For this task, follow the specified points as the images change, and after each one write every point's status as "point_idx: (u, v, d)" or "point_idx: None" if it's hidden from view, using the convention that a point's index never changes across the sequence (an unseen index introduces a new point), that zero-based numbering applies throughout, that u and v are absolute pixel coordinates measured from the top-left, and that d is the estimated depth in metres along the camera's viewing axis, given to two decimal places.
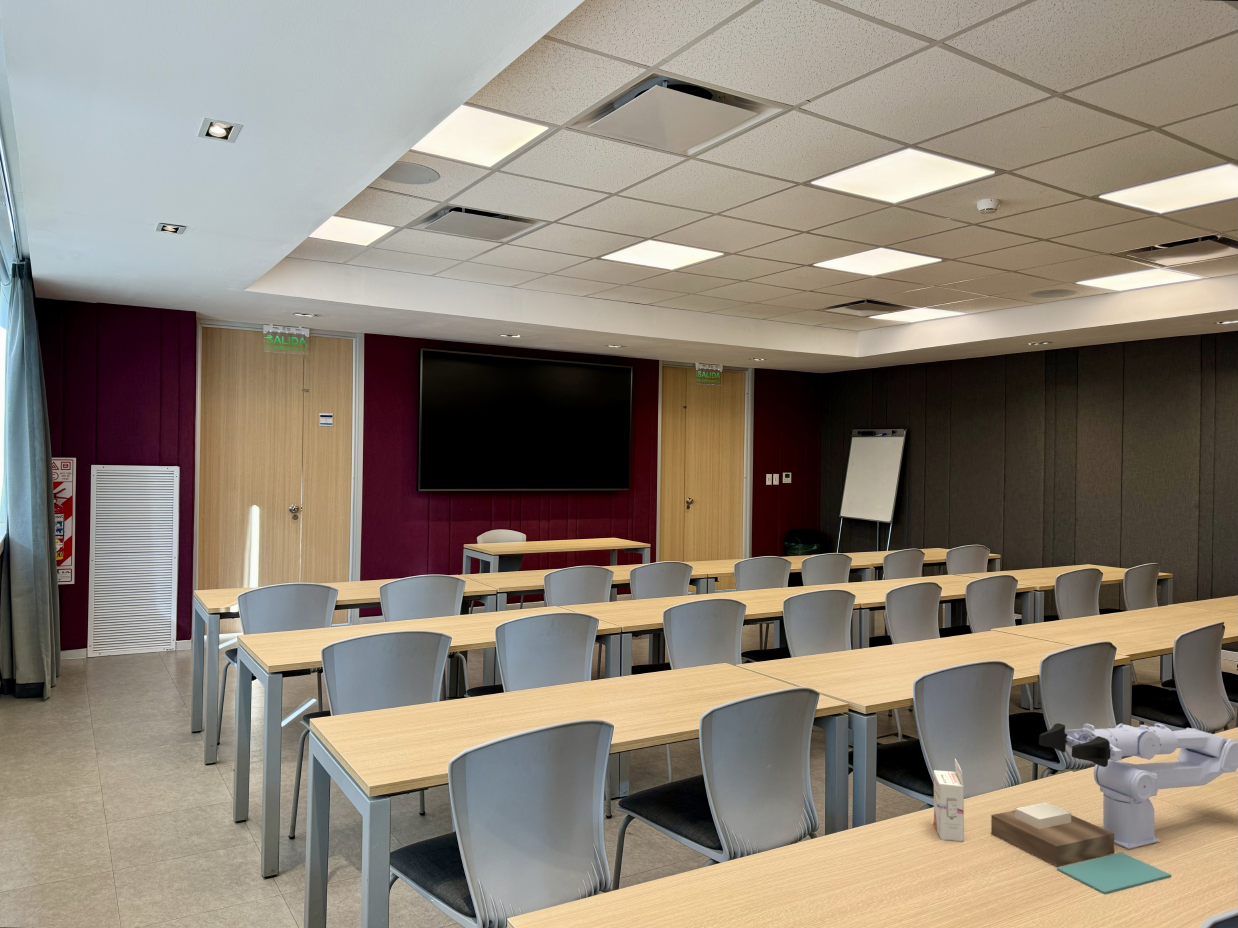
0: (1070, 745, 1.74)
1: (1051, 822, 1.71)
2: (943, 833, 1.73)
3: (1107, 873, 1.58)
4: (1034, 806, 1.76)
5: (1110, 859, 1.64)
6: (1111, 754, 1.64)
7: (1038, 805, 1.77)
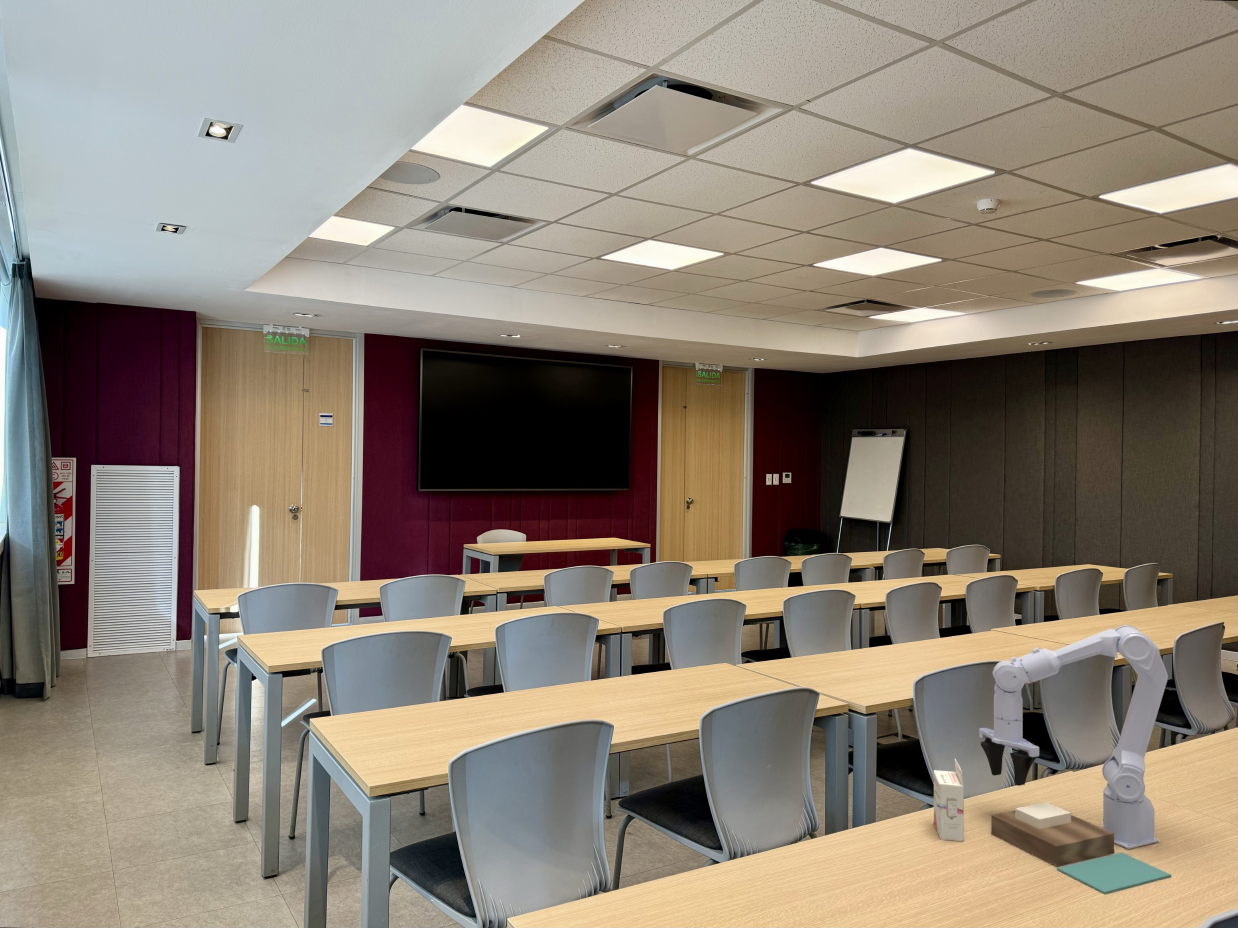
0: None
1: (1051, 822, 1.71)
2: (943, 833, 1.73)
3: (1107, 873, 1.58)
4: (1034, 806, 1.76)
5: (1110, 859, 1.64)
6: None
7: (1038, 805, 1.77)
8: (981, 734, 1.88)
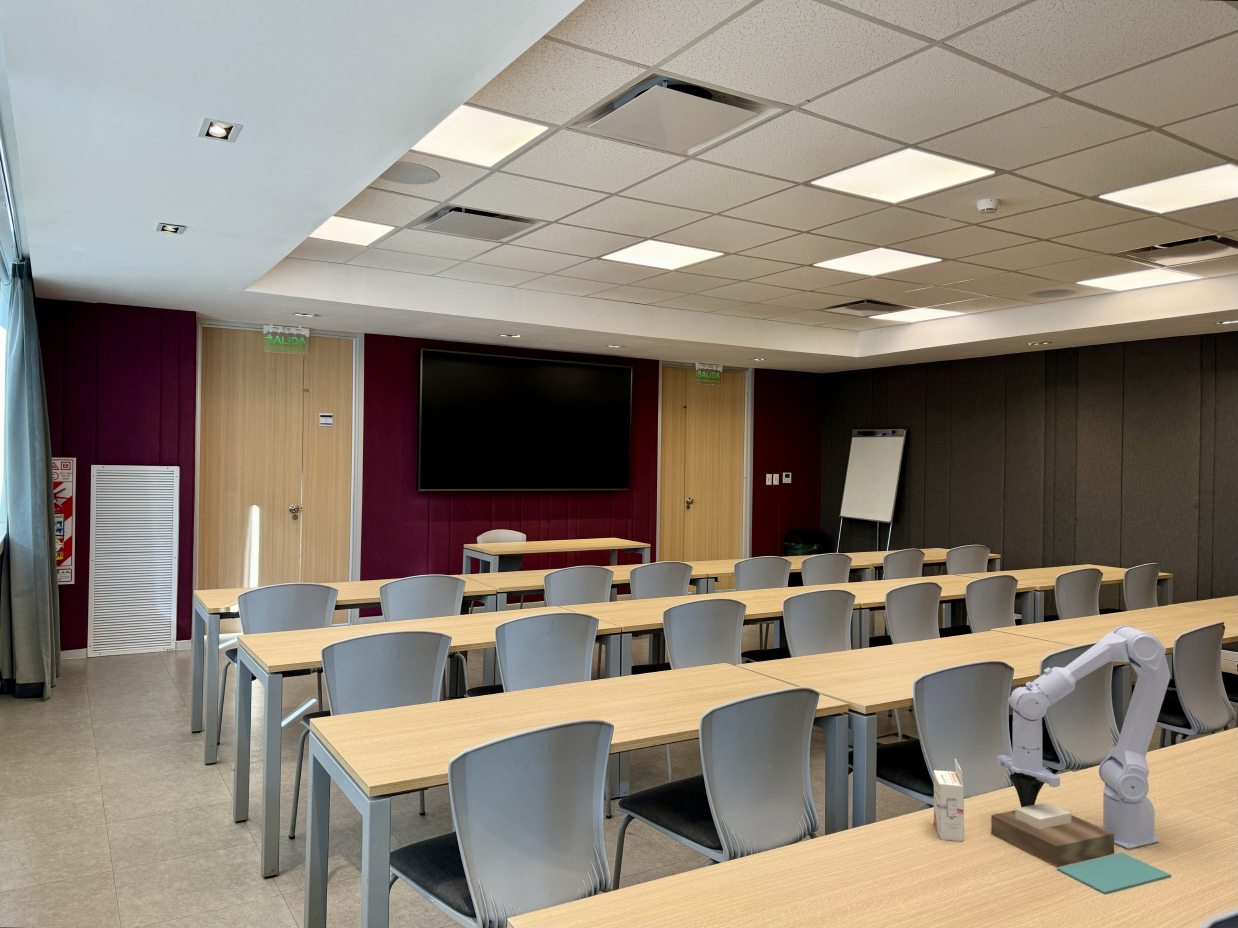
0: None
1: (1051, 822, 1.71)
2: (943, 833, 1.73)
3: (1107, 873, 1.58)
4: (1034, 806, 1.76)
5: (1110, 859, 1.64)
6: None
7: (1038, 805, 1.77)
8: (999, 762, 1.83)
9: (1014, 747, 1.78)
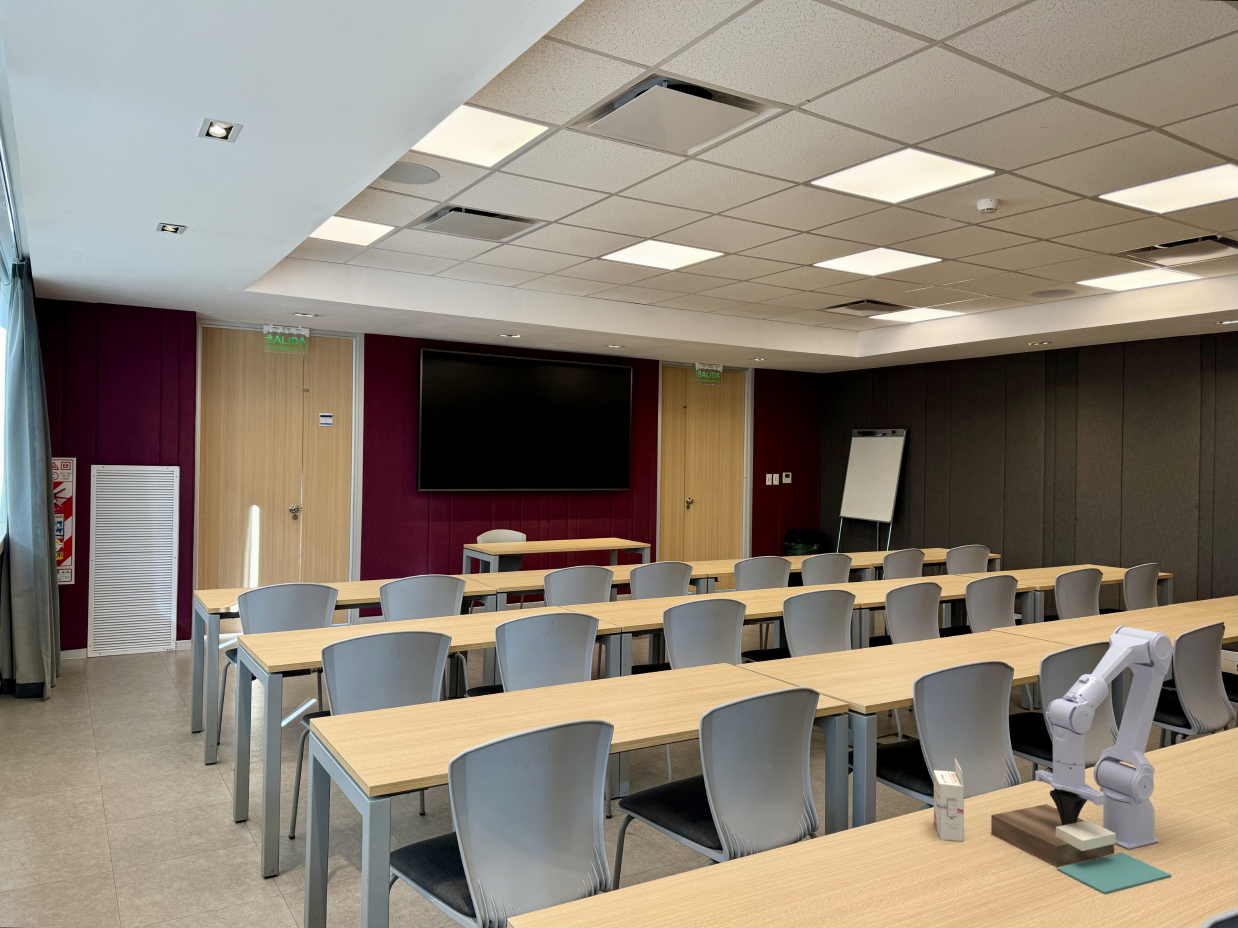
0: None
1: (1095, 843, 1.61)
2: (943, 833, 1.73)
3: (1107, 873, 1.58)
4: (1076, 825, 1.66)
5: (1110, 859, 1.64)
6: None
7: (1080, 823, 1.67)
8: (1038, 777, 1.74)
9: (1055, 762, 1.68)
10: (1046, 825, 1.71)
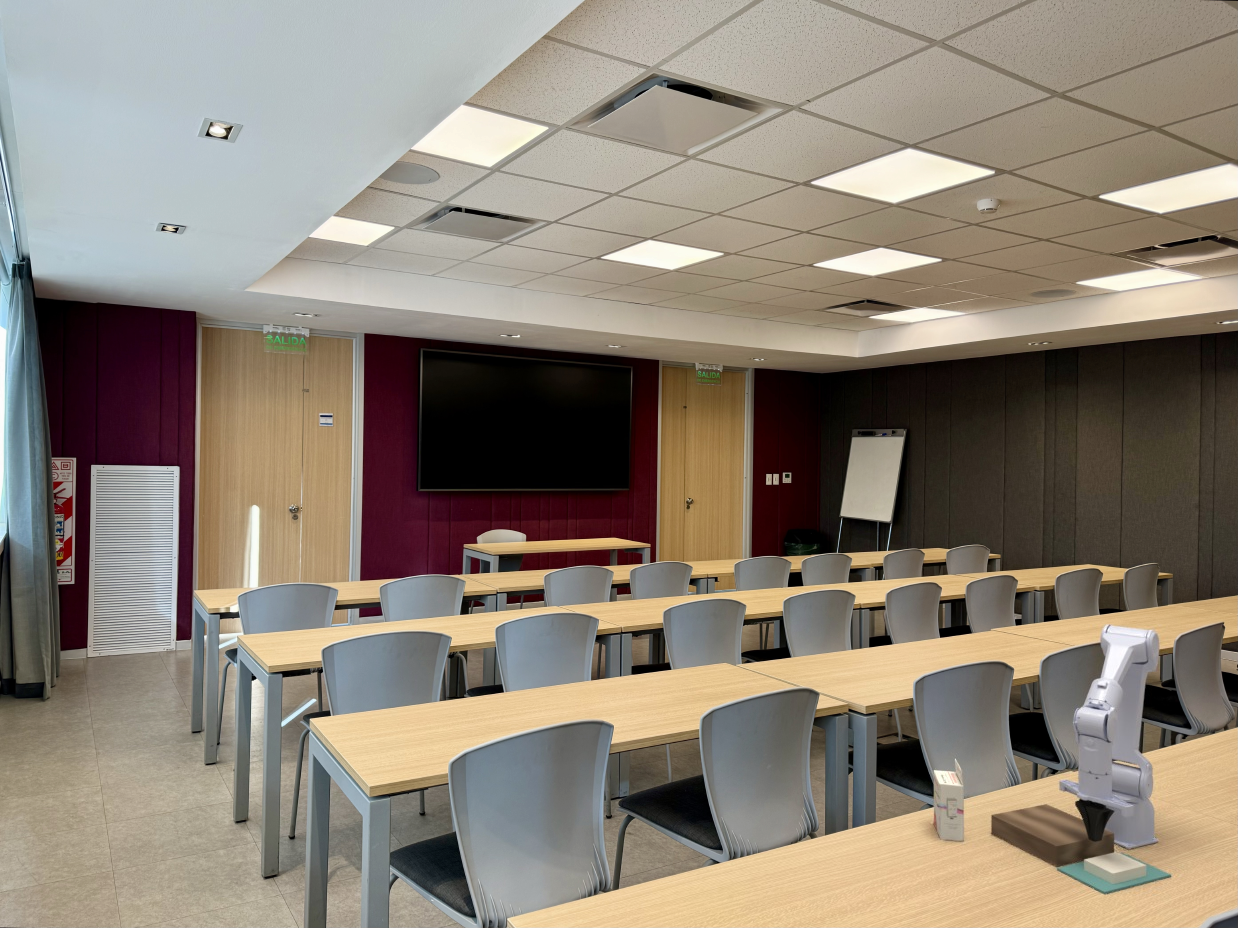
0: None
1: None
2: (943, 833, 1.73)
3: None
4: None
5: None
6: None
7: None
8: (1062, 787, 1.69)
9: (1080, 772, 1.63)
10: (1046, 825, 1.71)
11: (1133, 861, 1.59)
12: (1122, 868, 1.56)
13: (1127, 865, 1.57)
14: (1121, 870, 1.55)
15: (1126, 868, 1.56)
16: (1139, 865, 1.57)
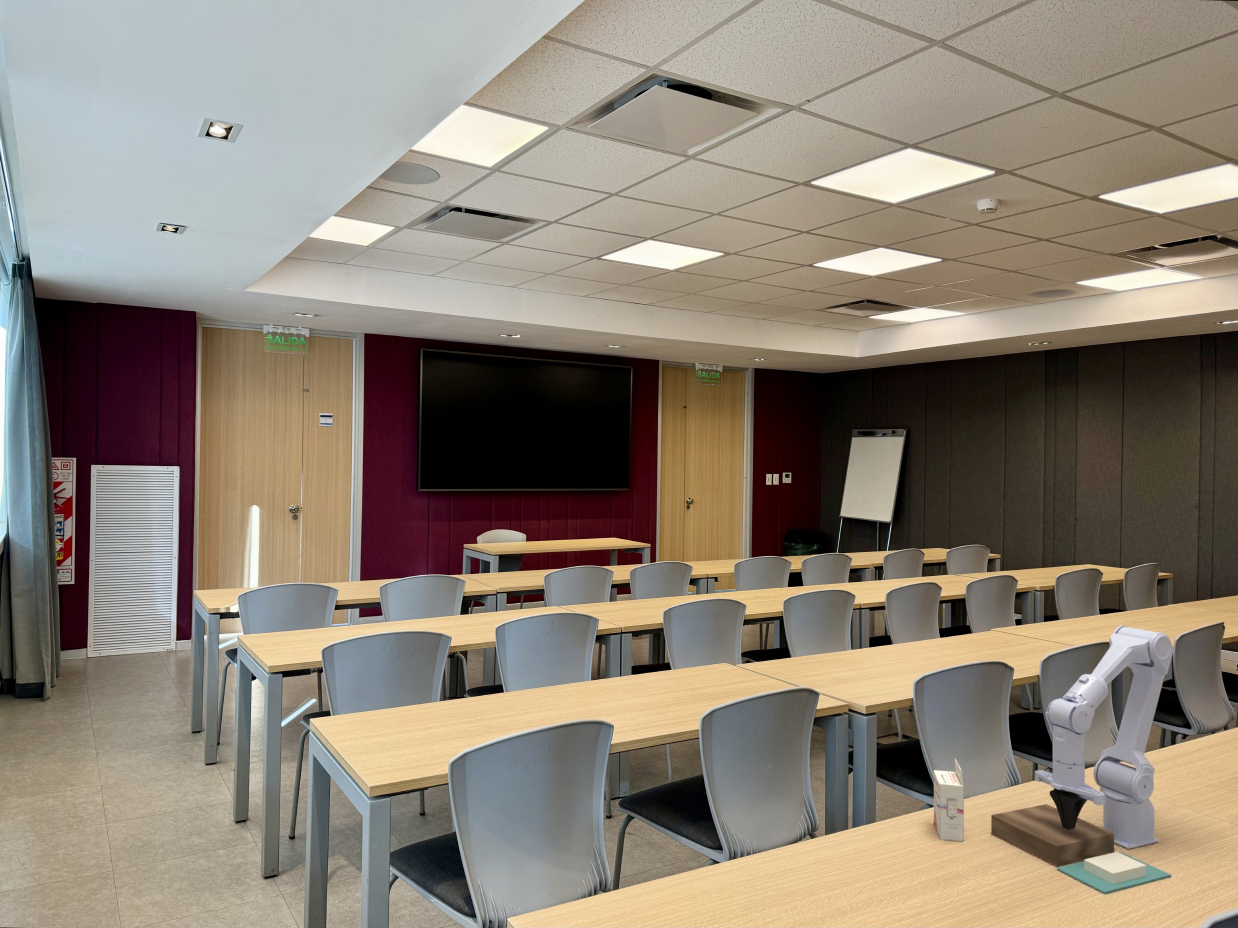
0: None
1: None
2: (943, 833, 1.73)
3: None
4: None
5: None
6: None
7: None
8: (1037, 777, 1.74)
9: (1055, 762, 1.68)
10: (1046, 825, 1.71)
11: (1133, 861, 1.59)
12: (1122, 868, 1.56)
13: (1127, 865, 1.57)
14: (1121, 870, 1.55)
15: (1126, 868, 1.56)
16: (1139, 865, 1.57)
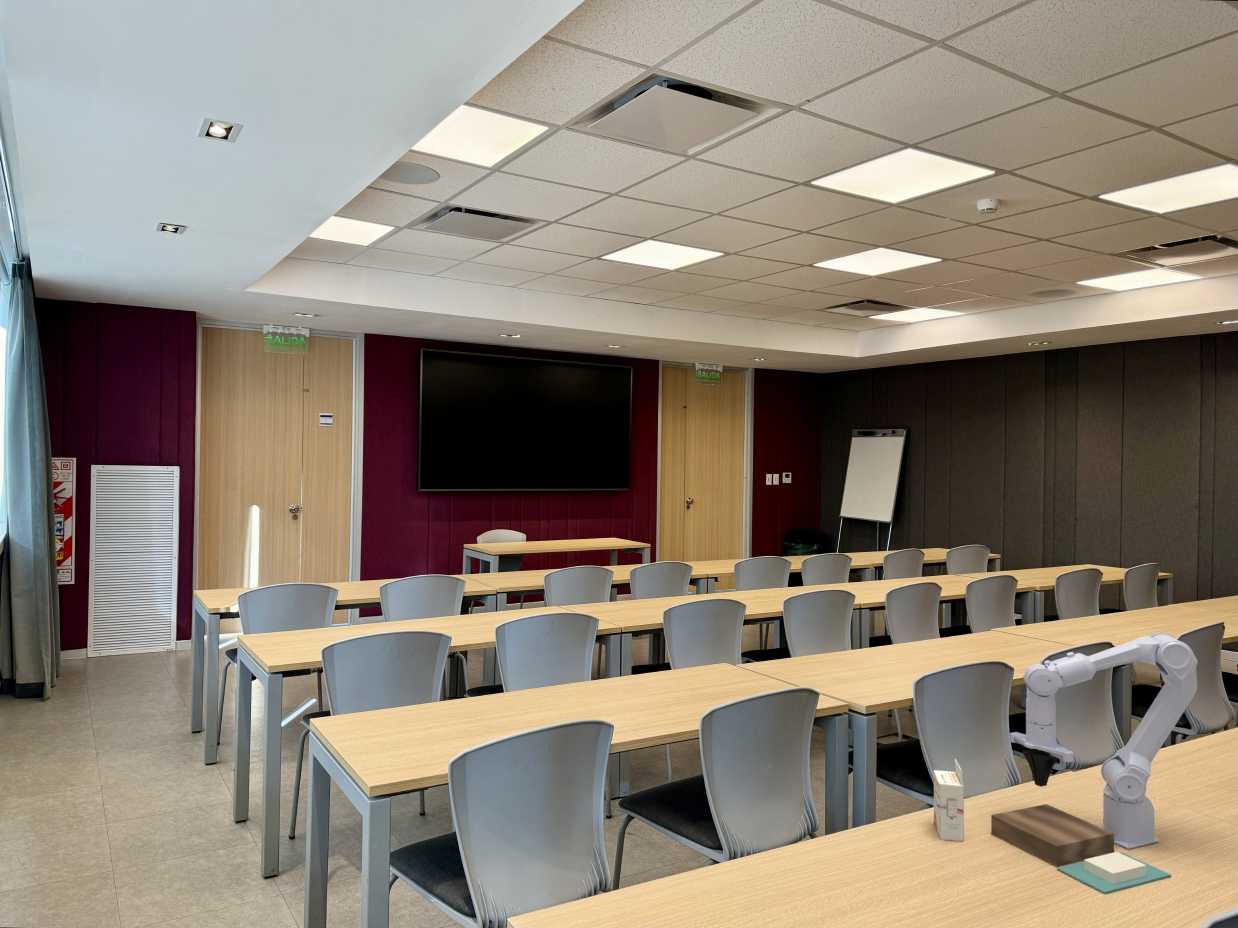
0: None
1: None
2: (943, 833, 1.73)
3: None
4: None
5: None
6: None
7: None
8: (1012, 739, 1.85)
9: (1028, 723, 1.79)
10: (1046, 825, 1.71)
11: (1133, 861, 1.59)
12: (1122, 868, 1.56)
13: (1127, 865, 1.57)
14: (1121, 870, 1.55)
15: (1126, 868, 1.56)
16: (1139, 865, 1.57)
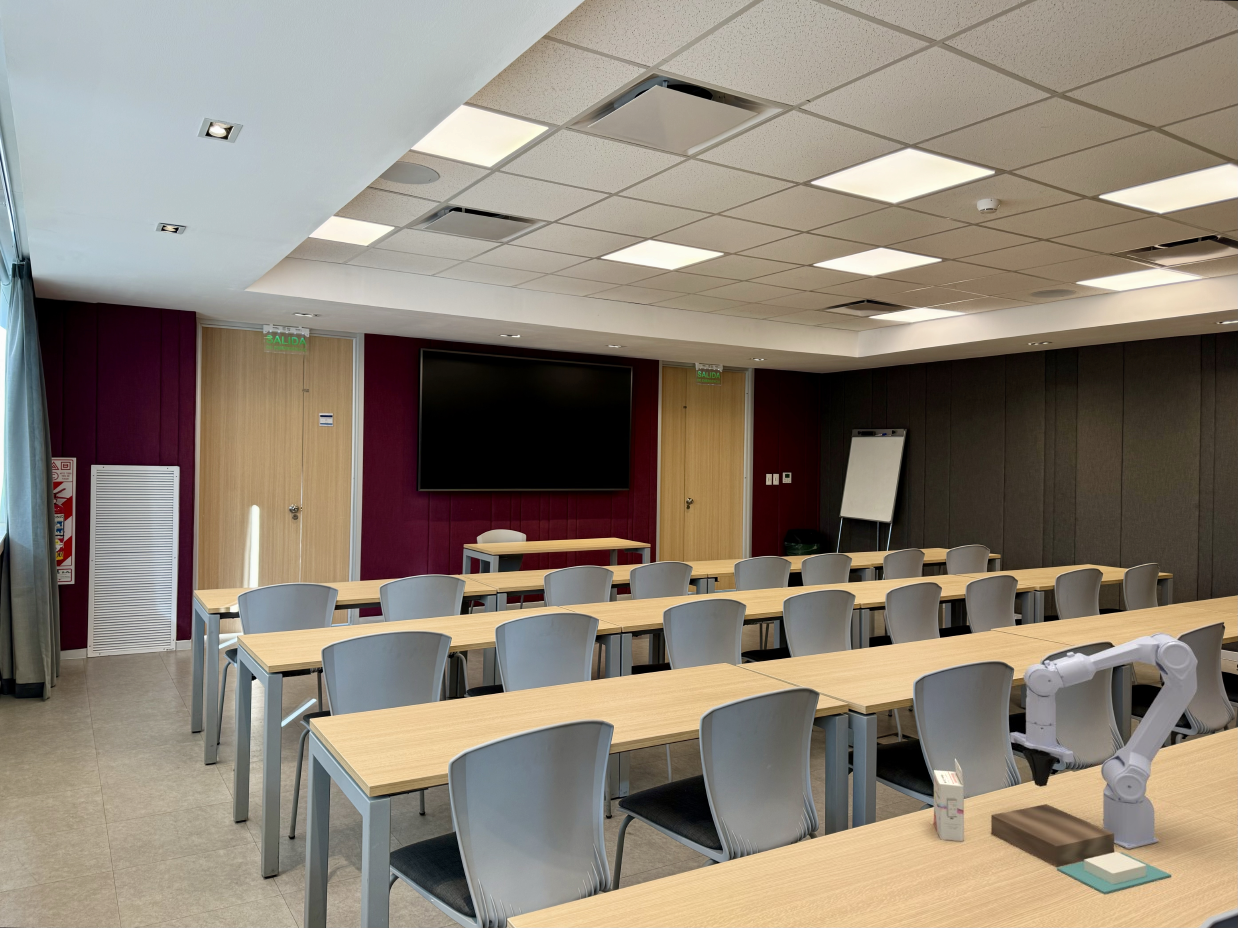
0: None
1: None
2: (943, 833, 1.73)
3: None
4: None
5: None
6: None
7: None
8: (1012, 739, 1.85)
9: (1028, 723, 1.79)
10: (1046, 825, 1.71)
11: (1133, 861, 1.59)
12: (1122, 868, 1.56)
13: (1127, 865, 1.57)
14: (1121, 870, 1.55)
15: (1126, 868, 1.56)
16: (1139, 865, 1.57)
